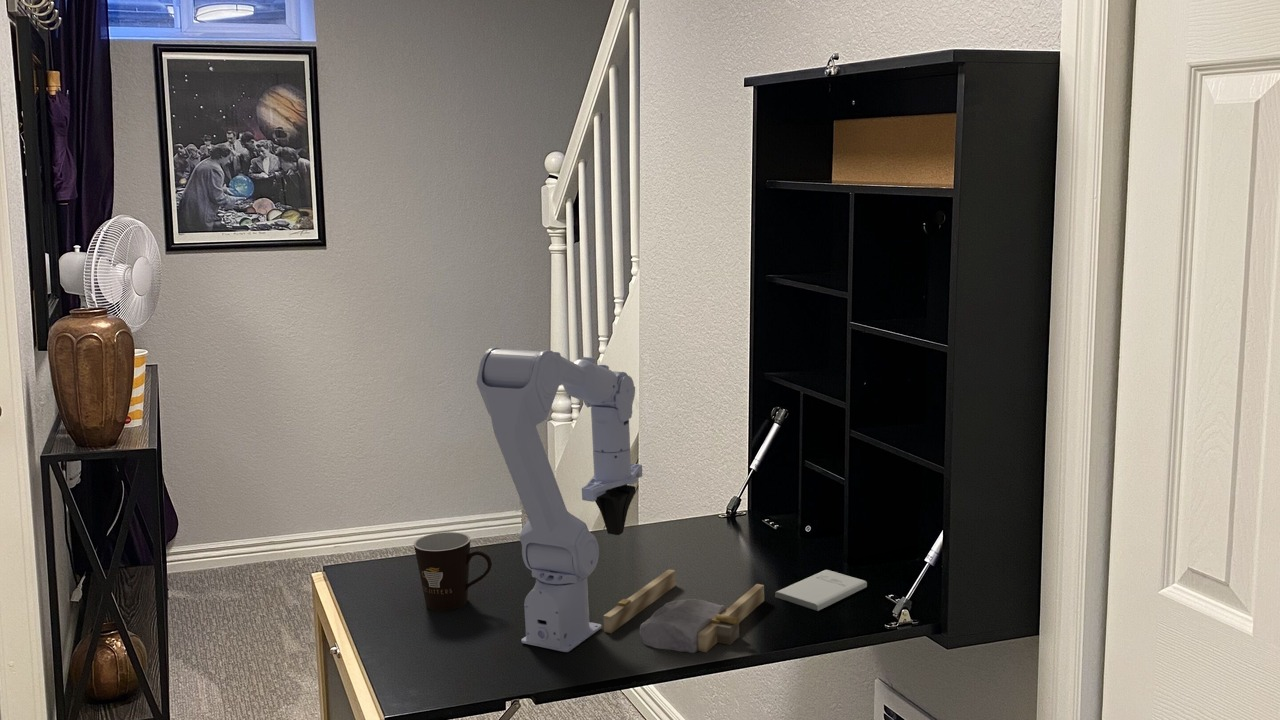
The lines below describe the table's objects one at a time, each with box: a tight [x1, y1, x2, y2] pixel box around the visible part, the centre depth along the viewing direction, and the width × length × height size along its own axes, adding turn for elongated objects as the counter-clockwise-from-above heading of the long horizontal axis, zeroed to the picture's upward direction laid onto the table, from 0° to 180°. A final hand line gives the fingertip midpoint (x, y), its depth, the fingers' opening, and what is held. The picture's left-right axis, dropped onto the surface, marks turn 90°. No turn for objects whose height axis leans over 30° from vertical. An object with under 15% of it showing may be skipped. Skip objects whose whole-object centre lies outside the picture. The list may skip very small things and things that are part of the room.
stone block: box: [639, 598, 727, 654], centre depth 167 cm, size 12×5×10 cm
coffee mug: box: [413, 531, 493, 612], centre depth 180 cm, size 12×9×10 cm
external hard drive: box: [774, 569, 868, 612], centre depth 180 cm, size 2×8×12 cm
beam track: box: [603, 569, 765, 653], centre depth 172 cm, size 20×19×4 cm
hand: (615, 533), depth 181 cm, fingers closed
